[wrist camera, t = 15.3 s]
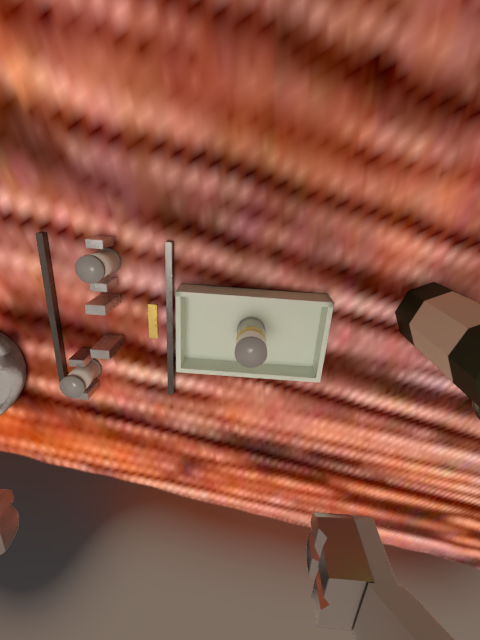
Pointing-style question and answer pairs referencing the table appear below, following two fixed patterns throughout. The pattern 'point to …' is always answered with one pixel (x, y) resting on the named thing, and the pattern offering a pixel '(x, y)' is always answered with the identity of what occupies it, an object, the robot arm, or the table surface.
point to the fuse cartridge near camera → (80, 379)
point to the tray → (280, 331)
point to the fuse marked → (251, 343)
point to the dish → (10, 372)
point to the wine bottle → (445, 333)
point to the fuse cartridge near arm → (97, 265)
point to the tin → (476, 409)
